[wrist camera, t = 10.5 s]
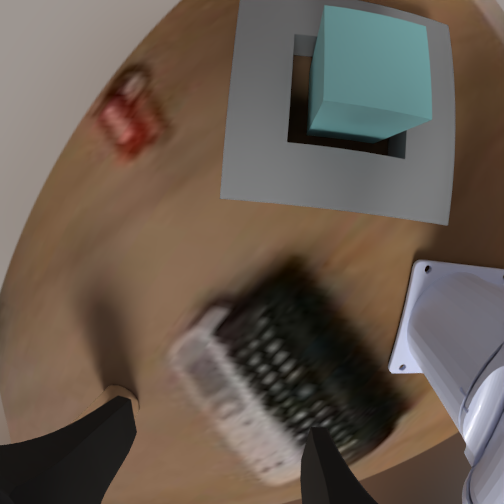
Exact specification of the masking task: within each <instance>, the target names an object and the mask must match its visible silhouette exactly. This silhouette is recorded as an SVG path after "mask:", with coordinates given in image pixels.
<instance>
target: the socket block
mask: <svg viewBox="0 0 504 504" xmlns="http://www.w3.org/2000/svg"><path fill="white" fill-rule="evenodd" d="M324 5H327V6H335V7H342V8H348V9H354V10H360V11H365V12H370V13H375V14H380V15H384V16H389V17H393V18H397V19H401V20H405V21H409V22H412V23H416V24H419V25H423V26H426V31H427V40H428V49H429V60H430V73H431V92H432V120H431V121H428V122H425V123H423V124H420V125H418V126H415V127H413V128H410V129H408V130H405V131H403V132H400V133H398V134H396V135H393V136H391V137H389V140H388V156H385V155H379V154H373V153H367V152H361V151H354V150H348V149H341V148H333V147H325V146H317V145H309V144H299V143H289V142H287V137H288V124H289V110H290V97H291V82H292V67H293V55H299V56H309V57H313V54H314V50H315V45H316V41H317V36H318V32H319V27H320V23H321V18H322V14H323V9H324ZM454 156H455V88H454V72H453V60H452V50H451V41H450V34H449V27H448V25H446V24H443V23H440V22H437V21H434V20H431V19H428V18H425V17H422V16H419V15H416V14H412V13H409V12H405V11H402V10H398V9H394V8H390V7H386V6H382V5H378V4H373V3H369V2H364V1H359V0H240V4H239V12H238V19H237V28H236V36H235V44H234V53H233V62H232V71H231V80H230V90H229V100H228V110H227V120H226V131H225V143H224V154H223V166H222V179H221V192H220V199H232V200H244V201H255V202H266V203H277V204H287V205H297V206H307V207H316V208H325V209H333V210H342V211H350V212H358V213H366V214H373V215H381V216H388V217H395V218H402V219H409V220H415V221H422V222H428V223H435V224H441V225H447V226H448V221H449V213H450V205H451V196H452V185H453V173H454Z"/></svg>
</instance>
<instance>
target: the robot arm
mask: <svg viewBox="0 0 504 504" xmlns="http://www.w3.org/2000/svg"><path fill="white" fill-rule="evenodd" d="M428 265H429V270H428V271H427V272H425V267H426V266H428ZM503 276H504V269H499V268H490V267H482V266H473V265H465V264H456V263H447V262H439V261H430V260H417V261H416V262H415V263H414V264H413V267H412V273H411V278H410V283H409V287H408V292H407V297H406V301H405V305H404V310H403V314H402V318H401V322H400V326H399V329H398V333H397V337H396V341H395V344H394V348H393V351H392V355H391V358H390V361H389V365H388V368H389V370H390V372H391V373H424V375H425V376H426V378H427V379H428V381H429V383H430V384H431V386H432V387H433V389H434V390H435V392H436V394H437V395H438V397H439V398H440V400H441V402H442V403H443V405H444V407H445V408H446V410H447V411H448V413H449V415H450V416H451V418H452V420H453V421H454V423H455V425H456V427H457V428H458V430H459V432H460V433H461V435H462V437H463V438H464V440H465V442H466V449H465V452H464V453H465V455H466V457H467V459H468V460H469V463H470V464H471V466H472V469H471V471H470V472H469V474H468V476H467V478H466V480H465V484H464V487H463V493H462V501H463V504H504V278H503ZM403 364H404V366H403V367H402V368H399V367H400V366H401V365H403ZM136 433H137V431H136V426H135V420H134V414H133V408H132V402H131V399H129V398H126V397H122V396H119V395H118V396H116V397H115V398H113V399H111V400H110V401H108V402H107V403H105V404H104V405H102V406H100V407H99V408H97V409H96V410H94V411H92V412H91V413H89V414H87V415H86V416H84V417H82V418H81V419H79V420H77V421H75V422H73V423H71V424H69V425H67V426H66V427H64V428H61V429H59V430H57V431H55V432H52V433H50V434H47V435H44V436H41V437H38V438H35V439H31V440H27V441H24V442H19V443H14V444H9V445H0V504H101V501H102V499H103V497H104V494H105V492H106V490H107V489H108V487H109V485H110V483H111V482H112V480H113V478H114V477H115V475H116V473H117V472H118V470H119V468H120V466H121V465H122V463H123V461H124V460H125V458H126V456H127V454H128V453H129V451H130V448H131V446H132V444H133V441H134V439H135V436H136ZM300 481H301V494H302V504H378V503H377V502H376V501H375V500H374V499H373V498H372V497H371V496H370V495H369V494H368V493H367V491H366V490H365V489H364V488H363V486H362V485H361V484H360V483H359V481H358V480H357V479H356V477H355V476H354V474H353V473H352V472H351V470H350V469H349V467H348V465H347V464H346V462H345V461H344V459H343V457H342V456H341V454H340V452H339V451H338V449H337V447H336V445H335V443H334V441H333V439H332V437H331V435H330V433H329V431H328V429H327V428H318V427H311V428H310V431H309V435H308V439H307V442H306V445H305V449H304V452H303V456H302V459H301V480H300Z"/></svg>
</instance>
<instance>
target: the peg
mask: <svg viewBox="0 0 504 504" xmlns="http://www.w3.org/2000/svg"><path fill="white" fill-rule="evenodd" d="M431 120H432V92H431V73H430V60H429V49H428V40H427V31H426V26H423V25H419V24H416V23H412V22H409V21H405V20H401V19H397V18H393V17H389V16H384V15H380V14H375V13H370V12H365V11H360V10H354V9H348V8H342V7H335V6H327V5H324V9H323V14H322V18H321V23H320V27H319V32H318V36H317V41H316V45H315V50H314V54H313V59H312V63H311V67H310V72H309V96H308V117H307V135H308V136H318V137H327V138H336V139H344V140H352V141H359V142H366V143H372V144H374V143H376V142H379V141H381V140H383V139H386V138H388V137H391V136H393V135H396V134H398V133H400V132H403V131H405V130H408V129H410V128H413V127H415V126H418V125H420V124H423V123H425V122H428V121H431Z"/></svg>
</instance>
